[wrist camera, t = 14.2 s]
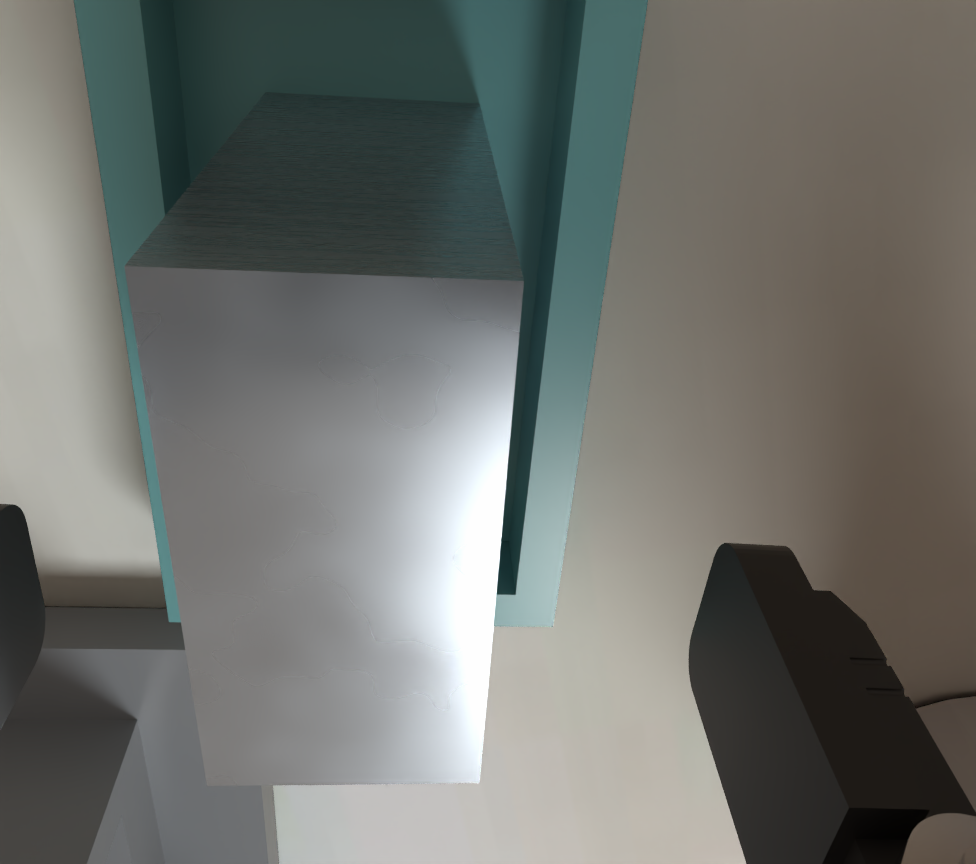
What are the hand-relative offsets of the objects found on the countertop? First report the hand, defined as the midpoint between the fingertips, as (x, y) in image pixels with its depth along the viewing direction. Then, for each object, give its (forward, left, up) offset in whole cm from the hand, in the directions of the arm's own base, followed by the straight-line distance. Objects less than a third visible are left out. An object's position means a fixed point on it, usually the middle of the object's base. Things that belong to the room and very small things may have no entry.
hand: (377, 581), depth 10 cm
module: (+1, 0, -10) cm, 10 cm away
